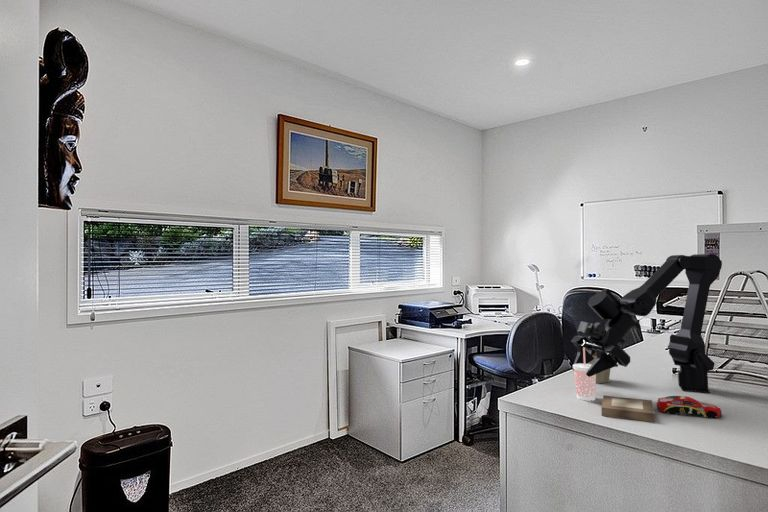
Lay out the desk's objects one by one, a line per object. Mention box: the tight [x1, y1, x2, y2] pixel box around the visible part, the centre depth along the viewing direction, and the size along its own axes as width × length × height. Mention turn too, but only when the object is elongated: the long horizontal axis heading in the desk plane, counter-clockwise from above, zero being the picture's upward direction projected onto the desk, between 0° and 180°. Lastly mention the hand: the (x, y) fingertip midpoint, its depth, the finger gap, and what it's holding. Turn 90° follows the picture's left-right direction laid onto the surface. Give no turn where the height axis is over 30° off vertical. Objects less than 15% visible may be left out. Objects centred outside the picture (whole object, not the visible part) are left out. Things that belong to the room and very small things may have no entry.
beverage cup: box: [572, 347, 597, 402], centre depth 123 cm, size 6×6×14 cm
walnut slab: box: [601, 395, 655, 423], centre depth 111 cm, size 11×11×2 cm
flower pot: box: [588, 352, 611, 384], centre depth 140 cm, size 9×9×9 cm
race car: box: [656, 395, 723, 420], centre depth 109 cm, size 13×5×4 cm, turn 63°
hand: (580, 372), depth 123 cm, fingers closed on beverage cup, 6 cm apart
